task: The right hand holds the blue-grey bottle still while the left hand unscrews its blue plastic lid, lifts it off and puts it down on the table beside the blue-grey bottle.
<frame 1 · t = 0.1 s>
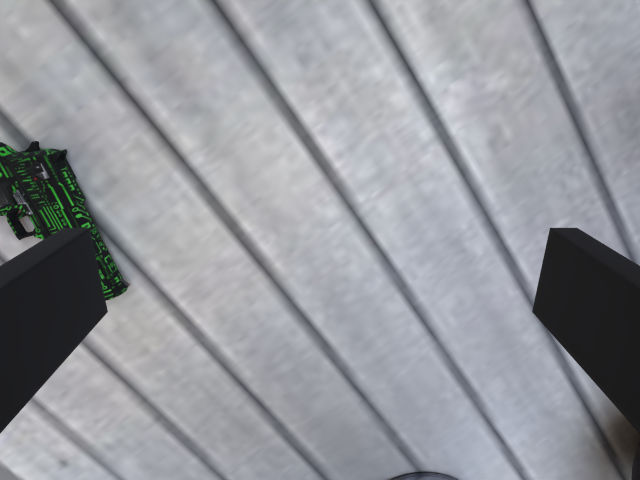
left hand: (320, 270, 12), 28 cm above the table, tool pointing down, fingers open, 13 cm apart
handgun: (36, 224, 42), on the table
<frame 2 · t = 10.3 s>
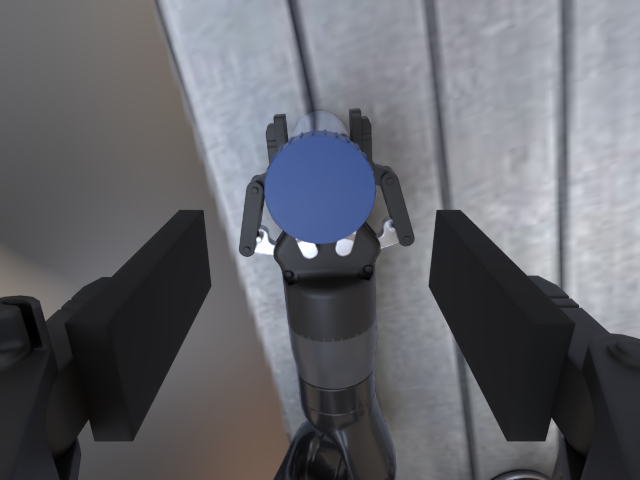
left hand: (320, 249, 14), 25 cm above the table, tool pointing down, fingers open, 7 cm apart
lid: (319, 190, 21), point 18 cm above the table, screwed on, not yet turned
blue-grey bottle: (319, 138, 37), on the table, touching right hand
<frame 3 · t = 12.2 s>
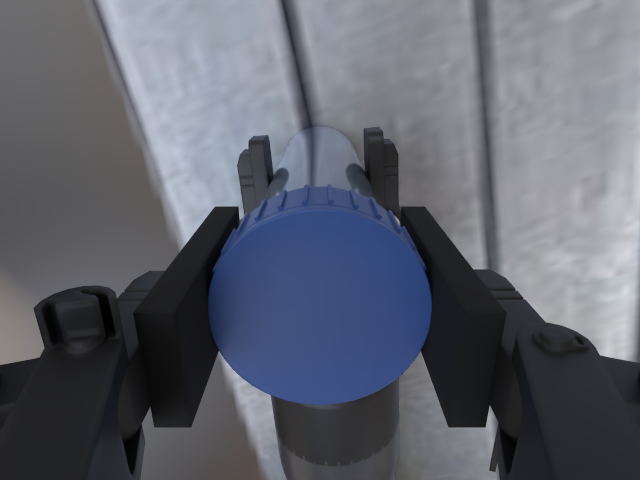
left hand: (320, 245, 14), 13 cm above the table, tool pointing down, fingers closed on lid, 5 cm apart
lid: (319, 309, 10), point 18 cm above the table, screwed on, not yet turned, touching left hand
blue-grey bottle: (320, 164, 27), on the table, touching right hand
when the left hand's fingers open (14 cm above the table, at t = 13.5 s): lid stays where it is, point 18 cm above the table.
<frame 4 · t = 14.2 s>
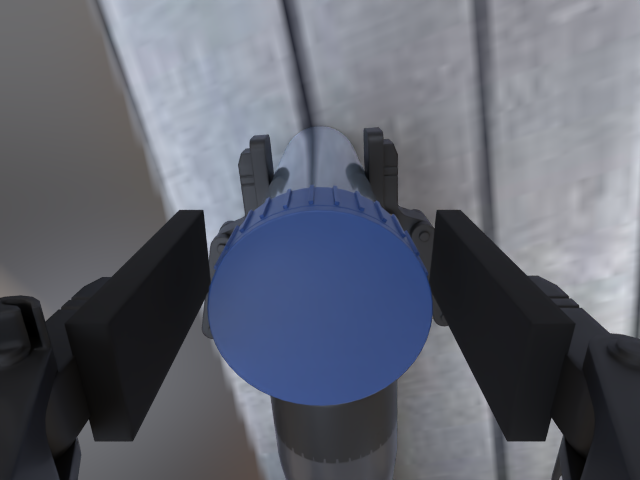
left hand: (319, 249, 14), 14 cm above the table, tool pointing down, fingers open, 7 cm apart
lid: (320, 310, 10), point 18 cm above the table, turned 72° so far, risen 0.2 cm, still on its thread
blue-grey bottle: (320, 163, 27), on the table, touching right hand
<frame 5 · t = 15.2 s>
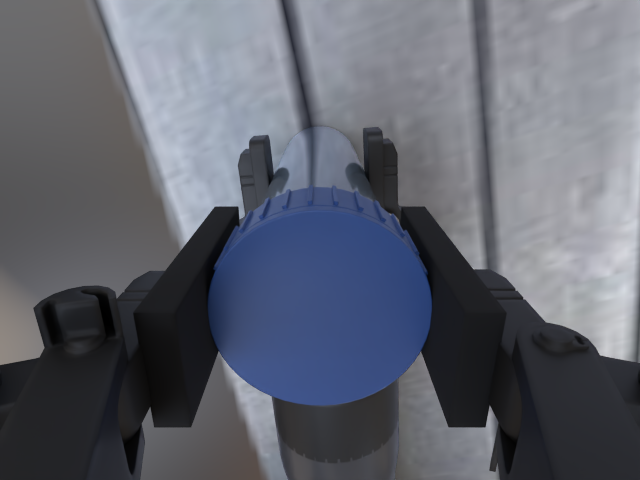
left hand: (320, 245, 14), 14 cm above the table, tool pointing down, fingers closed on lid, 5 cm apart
lid: (319, 310, 10), point 18 cm above the table, turned 72° so far, risen 0.2 cm, still on its thread, touching left hand
blue-grey bottle: (319, 163, 27), on the table, touching right hand
when the left hand's fingers open (0 cm above the table, at t = 21.5 s): lid drops 3 cm, point 2 cm above the table.
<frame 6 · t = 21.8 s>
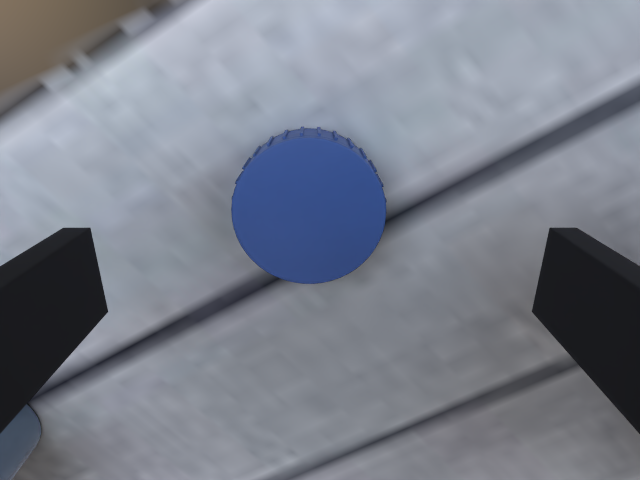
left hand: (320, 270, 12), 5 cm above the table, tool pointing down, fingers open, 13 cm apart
lid: (309, 212, 15), point 2 cm above the table, off its thread
when the right hand's fingers open (6 cm above the table, at t = 22.2 s): blue-grey bottle stays where it is, on the table.
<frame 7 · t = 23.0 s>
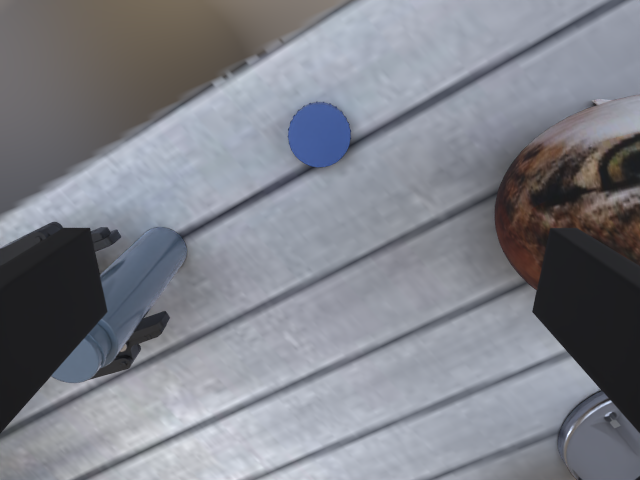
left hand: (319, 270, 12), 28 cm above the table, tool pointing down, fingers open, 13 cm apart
lid: (319, 135, 37), point 2 cm above the table, off its thread
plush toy: (582, 185, 40), on the table
blue-grey bottle: (163, 248, 43), on the table
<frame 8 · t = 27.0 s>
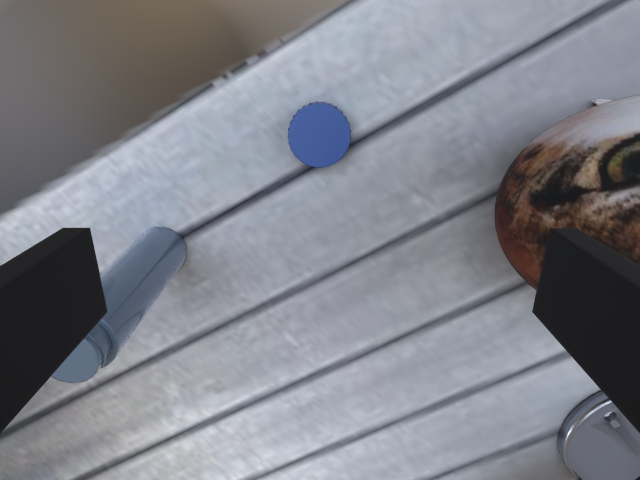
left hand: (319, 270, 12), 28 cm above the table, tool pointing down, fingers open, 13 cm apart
lid: (319, 135, 37), point 2 cm above the table, off its thread
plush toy: (582, 185, 40), on the table
blue-grey bottle: (163, 248, 43), on the table
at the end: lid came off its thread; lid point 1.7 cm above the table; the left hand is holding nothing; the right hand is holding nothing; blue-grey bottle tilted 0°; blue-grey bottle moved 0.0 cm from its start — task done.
